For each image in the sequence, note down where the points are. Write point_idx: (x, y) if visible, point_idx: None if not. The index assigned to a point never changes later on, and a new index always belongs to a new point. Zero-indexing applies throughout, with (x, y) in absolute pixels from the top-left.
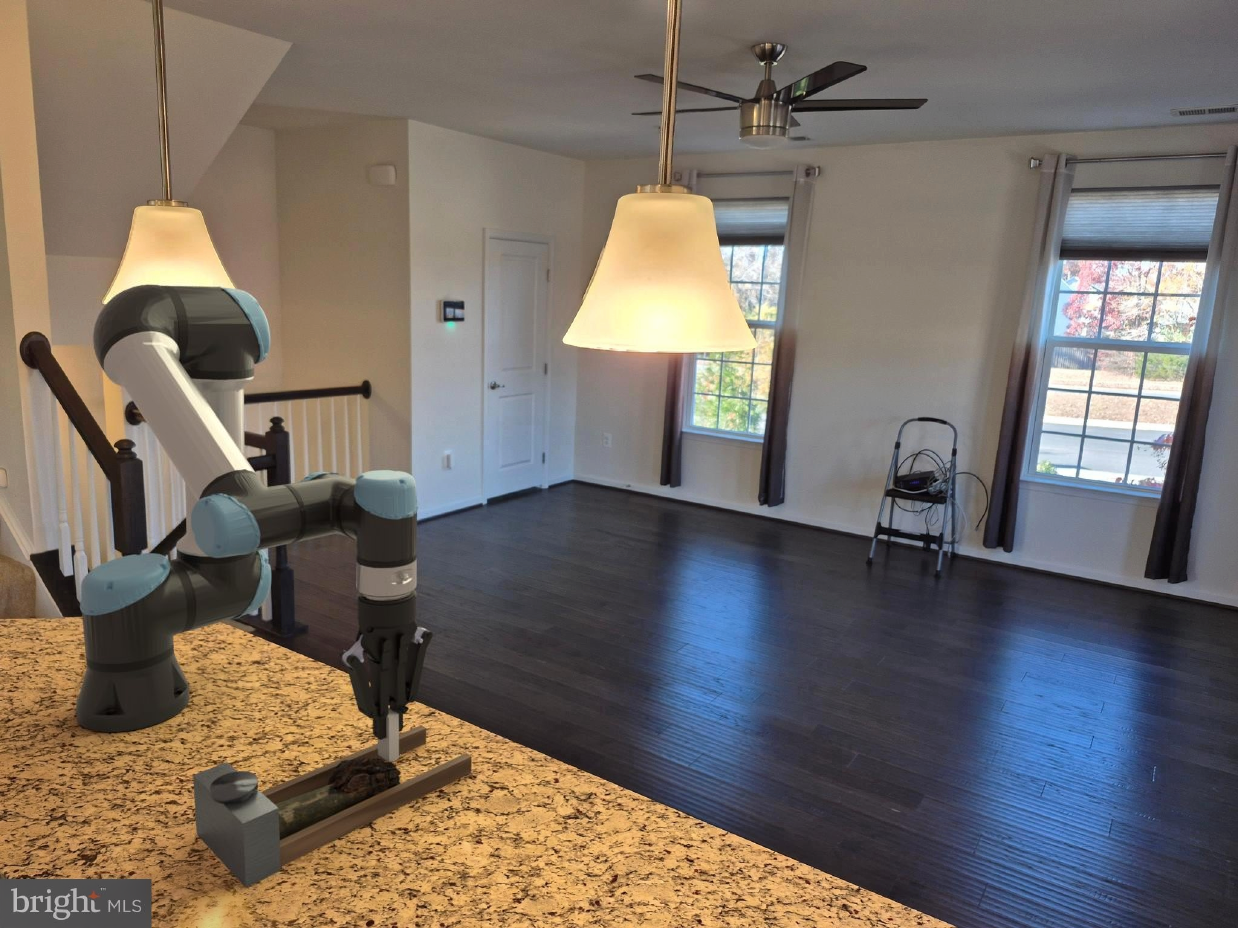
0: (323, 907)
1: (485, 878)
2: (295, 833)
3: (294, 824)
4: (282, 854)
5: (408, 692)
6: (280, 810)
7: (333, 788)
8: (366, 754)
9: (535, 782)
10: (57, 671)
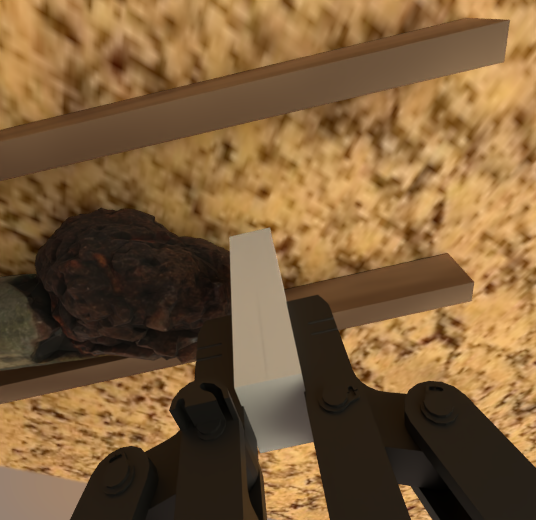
0: (46, 462)
1: (281, 478)
2: None
3: None
4: None
5: (432, 508)
6: None
7: (51, 336)
8: (212, 130)
9: (510, 351)
10: None
